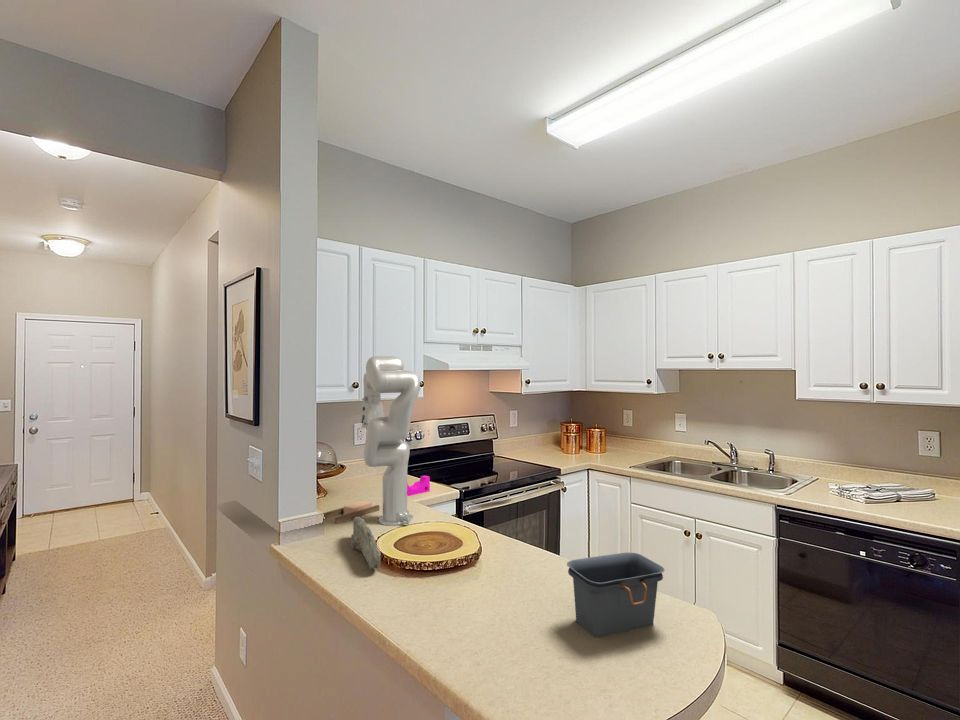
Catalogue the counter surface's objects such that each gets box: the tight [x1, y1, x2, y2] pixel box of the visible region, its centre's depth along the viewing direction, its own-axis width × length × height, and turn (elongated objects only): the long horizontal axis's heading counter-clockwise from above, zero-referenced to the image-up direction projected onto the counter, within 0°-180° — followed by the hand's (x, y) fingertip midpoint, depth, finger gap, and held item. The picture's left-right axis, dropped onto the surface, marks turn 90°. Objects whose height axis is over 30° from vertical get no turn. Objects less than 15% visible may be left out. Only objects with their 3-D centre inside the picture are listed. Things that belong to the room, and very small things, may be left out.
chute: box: [323, 504, 380, 525], centre depth 202 cm, size 10×22×2 cm, turn 143°
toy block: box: [407, 475, 431, 497], centre depth 236 cm, size 15×6×8 cm, turn 132°
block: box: [343, 500, 373, 515], centre depth 205 cm, size 6×10×4 cm, turn 150°
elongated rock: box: [350, 516, 382, 570], centre depth 160 cm, size 35×5×10 cm, turn 26°
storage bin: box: [566, 552, 665, 639], centre depth 117 cm, size 21×16×14 cm
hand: (372, 439), depth 227 cm, fingers closed
